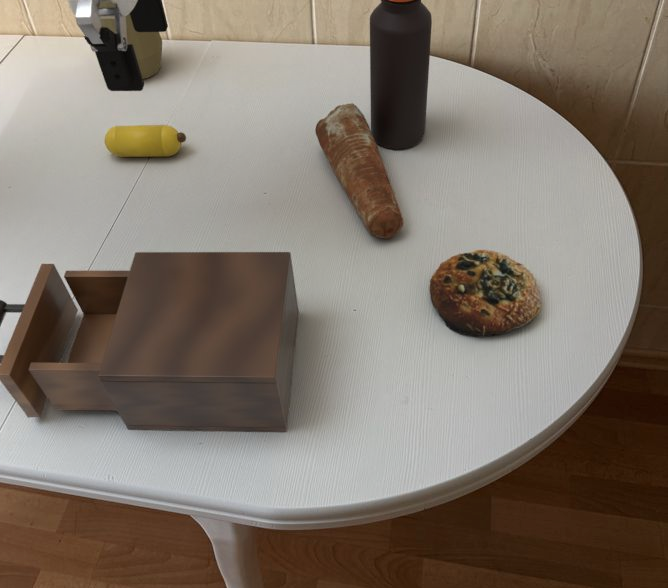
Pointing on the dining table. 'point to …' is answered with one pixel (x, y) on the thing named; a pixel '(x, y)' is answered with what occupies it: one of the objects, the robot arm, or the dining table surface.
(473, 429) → the dining table surface
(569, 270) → the dining table surface
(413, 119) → the vinegar
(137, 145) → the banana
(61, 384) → the drawer
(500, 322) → the bread roll
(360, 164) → the bread
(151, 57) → the squeeze bottle
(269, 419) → the cabinet
